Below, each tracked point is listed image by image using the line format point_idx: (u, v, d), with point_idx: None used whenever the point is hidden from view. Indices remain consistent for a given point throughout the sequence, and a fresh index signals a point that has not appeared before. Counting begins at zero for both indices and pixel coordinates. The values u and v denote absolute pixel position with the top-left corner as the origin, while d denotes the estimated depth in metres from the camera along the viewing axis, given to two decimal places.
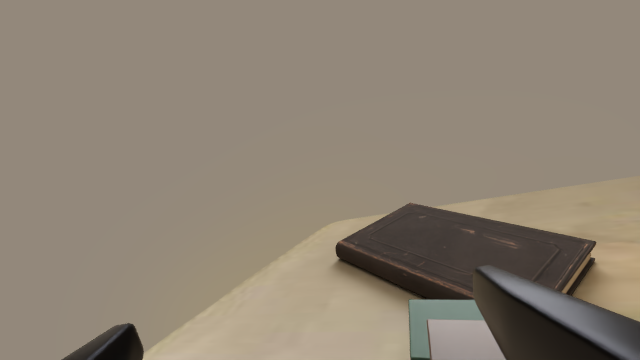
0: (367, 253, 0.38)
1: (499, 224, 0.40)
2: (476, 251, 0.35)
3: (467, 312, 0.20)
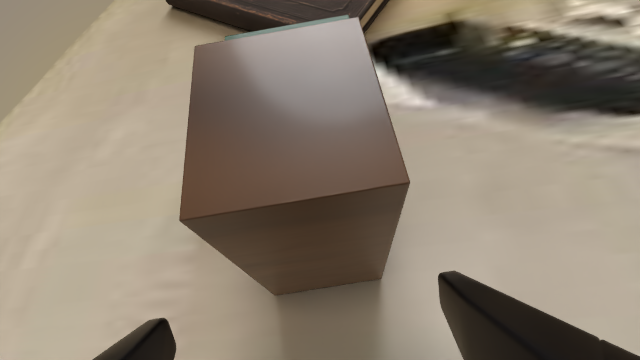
0: None
1: None
2: None
3: None
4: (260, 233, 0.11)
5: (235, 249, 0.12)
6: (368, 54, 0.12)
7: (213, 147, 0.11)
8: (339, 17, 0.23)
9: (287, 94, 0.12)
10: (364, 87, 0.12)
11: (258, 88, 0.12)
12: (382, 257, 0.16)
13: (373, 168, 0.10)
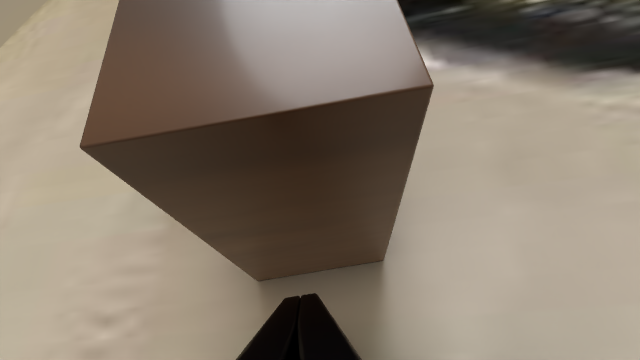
0: None
1: None
2: None
3: None
4: (215, 180, 0.08)
5: (186, 208, 0.09)
6: None
7: (144, 52, 0.07)
8: None
9: None
10: None
11: None
12: (386, 228, 0.13)
13: (377, 69, 0.06)
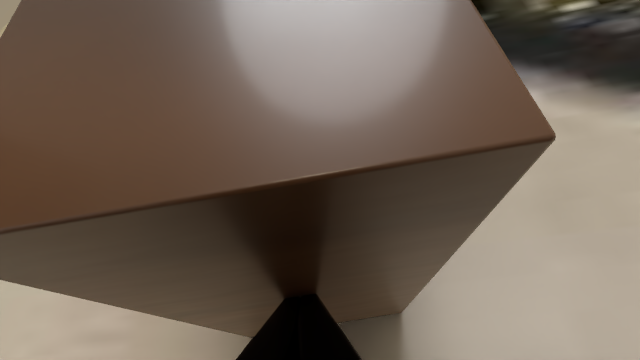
0: None
1: None
2: None
3: None
4: (165, 270, 0.05)
5: (129, 297, 0.06)
6: None
7: (43, 68, 0.05)
8: None
9: None
10: None
11: None
12: (412, 292, 0.10)
13: (442, 103, 0.04)
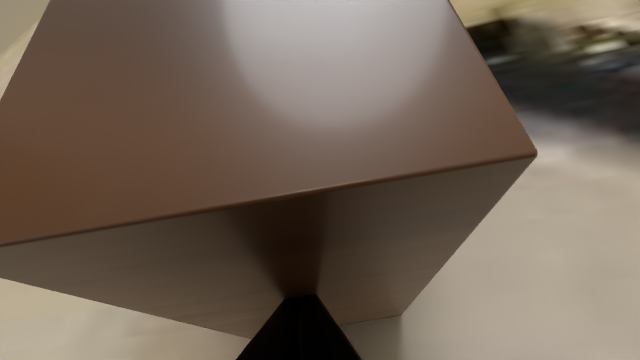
0: None
1: None
2: None
3: None
4: (176, 275, 0.05)
5: (140, 300, 0.06)
6: None
7: (63, 86, 0.05)
8: None
9: None
10: None
11: None
12: (411, 294, 0.10)
13: (433, 121, 0.04)
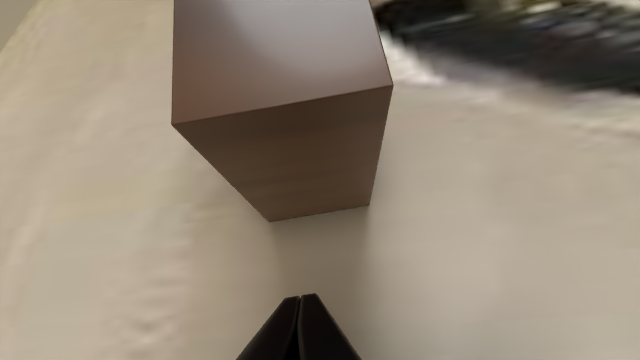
0: None
1: None
2: None
3: None
4: (251, 144, 0.12)
5: (227, 163, 0.13)
6: None
7: (201, 56, 0.11)
8: None
9: (273, 3, 0.12)
10: None
11: None
12: (369, 178, 0.17)
13: (359, 73, 0.10)
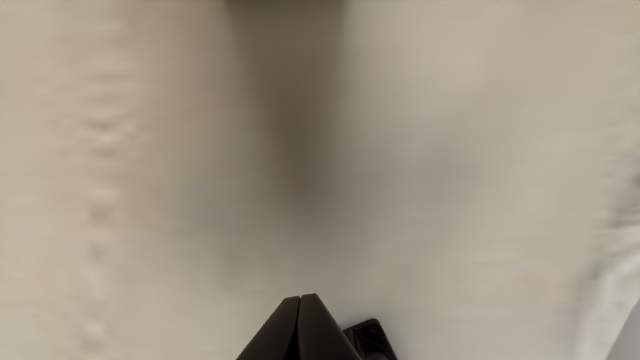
0: None
1: None
2: None
3: None
4: None
5: None
6: None
7: None
8: None
9: None
10: None
11: None
12: None
13: None
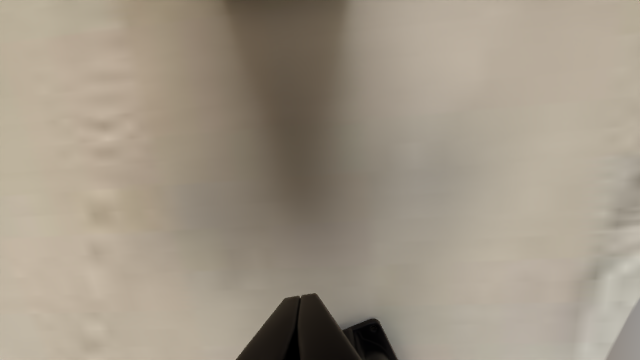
0: None
1: None
2: None
3: None
4: None
5: None
6: None
7: None
8: None
9: None
10: None
11: None
12: None
13: None
